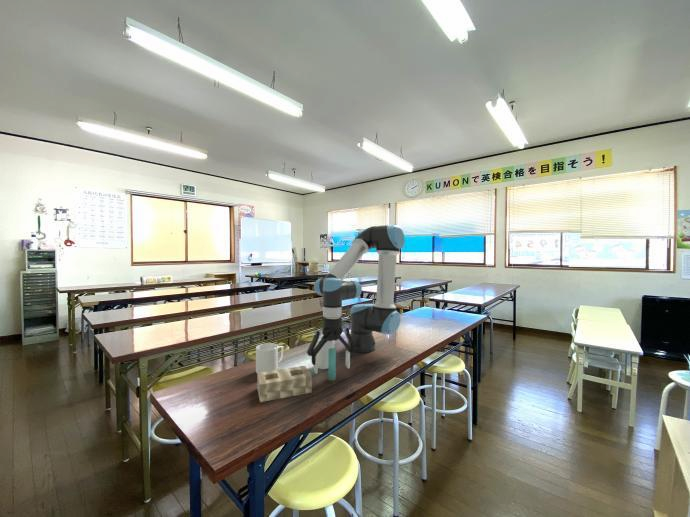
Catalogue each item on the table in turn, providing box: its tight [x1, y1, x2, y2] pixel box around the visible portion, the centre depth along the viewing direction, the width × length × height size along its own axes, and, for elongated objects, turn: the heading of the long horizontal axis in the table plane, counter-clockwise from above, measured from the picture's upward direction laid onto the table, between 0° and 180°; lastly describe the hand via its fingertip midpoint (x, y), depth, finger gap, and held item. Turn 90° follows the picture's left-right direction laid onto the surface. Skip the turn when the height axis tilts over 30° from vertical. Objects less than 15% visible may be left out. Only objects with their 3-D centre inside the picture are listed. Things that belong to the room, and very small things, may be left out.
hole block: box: [256, 365, 313, 403], centre depth 103 cm, size 18×10×6 cm, turn 112°
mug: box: [255, 342, 285, 374], centre depth 119 cm, size 12×9×11 cm
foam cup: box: [315, 334, 336, 370], centre depth 125 cm, size 10×9×13 cm
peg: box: [327, 347, 337, 381], centre depth 113 cm, size 3×3×12 cm
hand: (332, 369), depth 113 cm, fingers open, 13 cm apart
